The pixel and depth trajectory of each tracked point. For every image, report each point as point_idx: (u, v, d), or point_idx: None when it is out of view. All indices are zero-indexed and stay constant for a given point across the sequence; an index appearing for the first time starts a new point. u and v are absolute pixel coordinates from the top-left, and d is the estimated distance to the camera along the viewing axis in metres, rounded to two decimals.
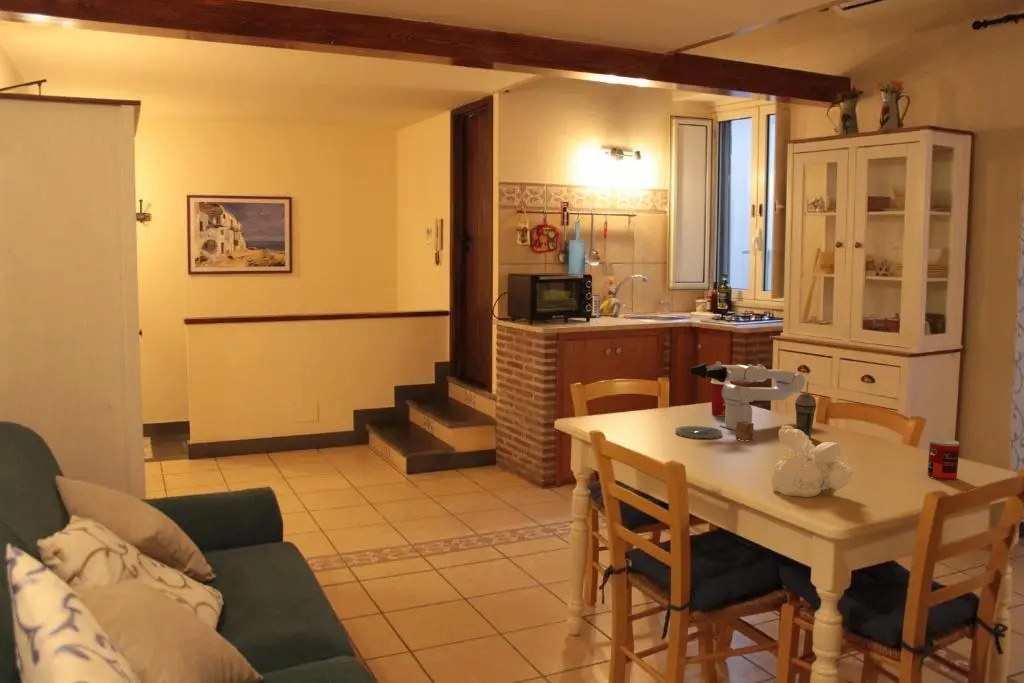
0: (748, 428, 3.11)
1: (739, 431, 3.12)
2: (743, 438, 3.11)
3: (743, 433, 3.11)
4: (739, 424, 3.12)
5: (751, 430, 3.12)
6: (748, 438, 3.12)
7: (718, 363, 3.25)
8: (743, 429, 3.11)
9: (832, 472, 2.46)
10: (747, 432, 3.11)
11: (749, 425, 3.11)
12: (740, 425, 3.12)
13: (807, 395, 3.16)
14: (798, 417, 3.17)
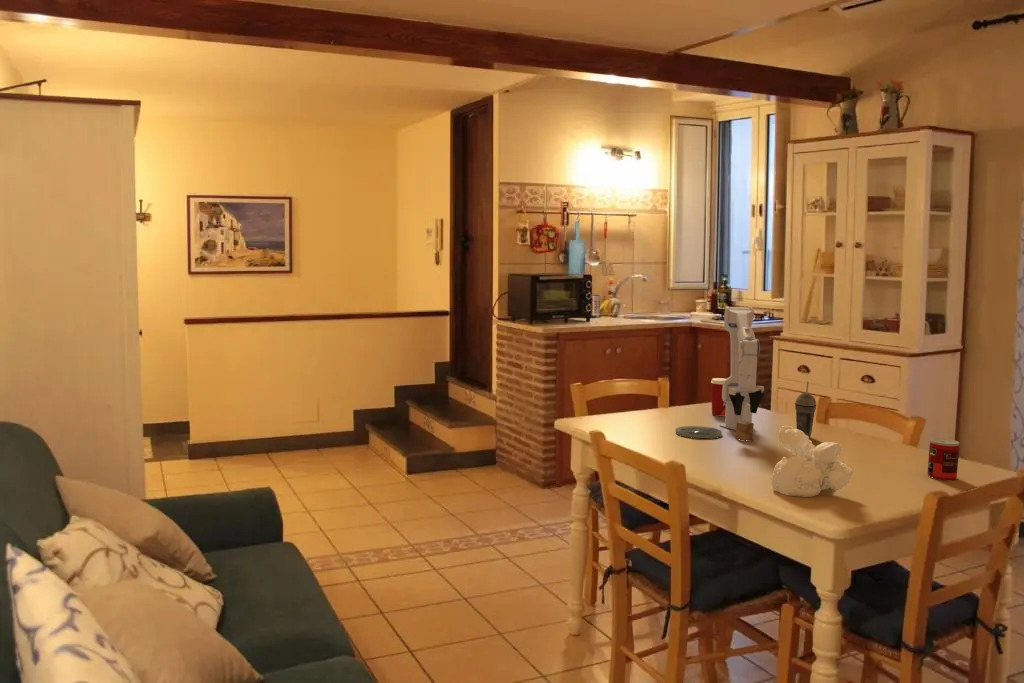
0: (748, 428, 3.11)
1: (739, 431, 3.12)
2: (743, 438, 3.11)
3: (743, 433, 3.11)
4: (739, 424, 3.12)
5: (751, 430, 3.12)
6: (748, 438, 3.12)
7: (755, 390, 3.09)
8: (743, 429, 3.11)
9: (832, 472, 2.46)
10: (747, 432, 3.11)
11: (749, 425, 3.11)
12: (740, 425, 3.12)
13: (807, 395, 3.16)
14: (798, 417, 3.17)
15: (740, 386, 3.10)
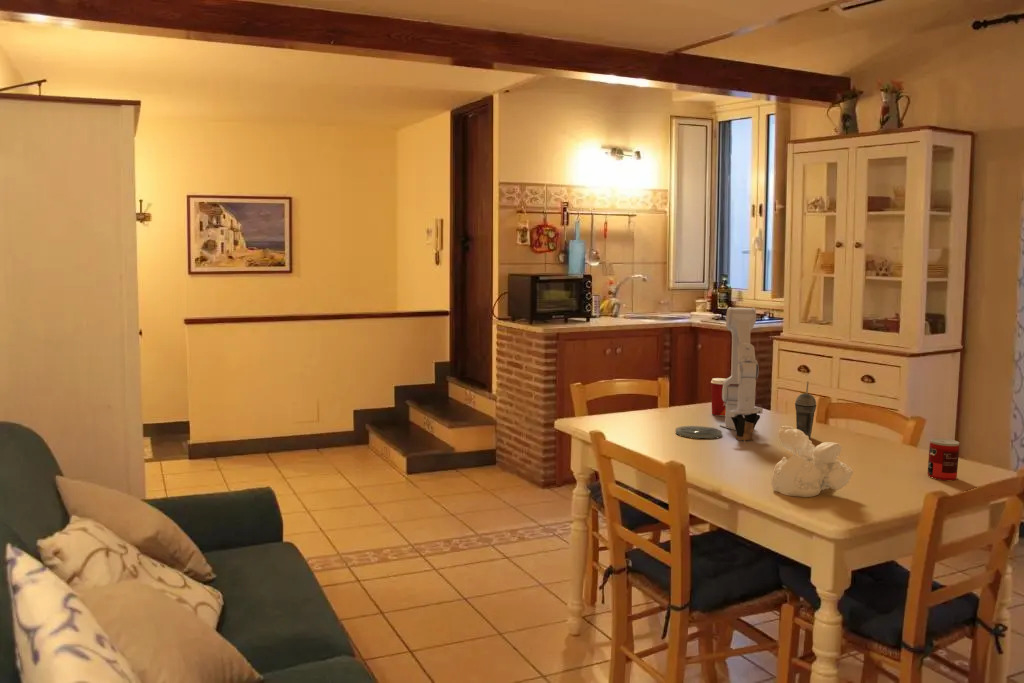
0: (748, 428, 3.11)
1: None
2: (743, 438, 3.11)
3: (743, 433, 3.11)
4: None
5: (751, 430, 3.12)
6: (748, 438, 3.12)
7: (753, 412, 3.10)
8: None
9: (832, 472, 2.46)
10: (747, 432, 3.11)
11: (749, 425, 3.11)
12: None
13: (807, 395, 3.16)
14: (798, 417, 3.17)
15: (739, 408, 3.11)
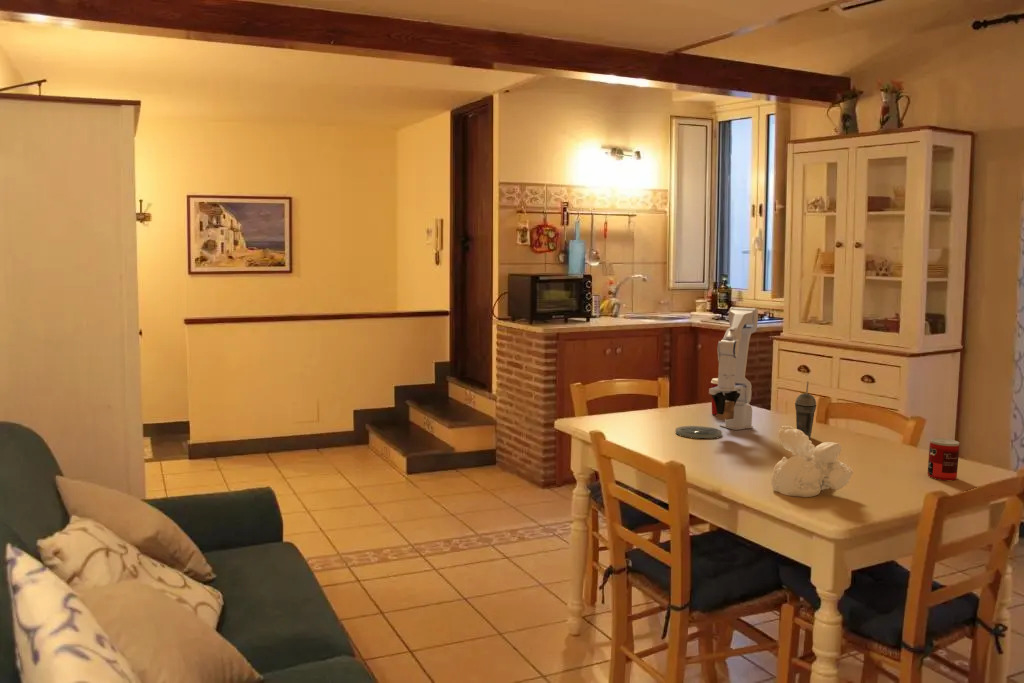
0: (729, 406, 3.13)
1: None
2: (724, 416, 3.13)
3: (724, 411, 3.13)
4: None
5: (732, 408, 3.14)
6: (729, 416, 3.14)
7: (734, 390, 3.12)
8: (724, 407, 3.13)
9: (832, 472, 2.46)
10: (728, 410, 3.13)
11: (730, 403, 3.14)
12: None
13: (807, 395, 3.16)
14: (798, 417, 3.17)
15: (719, 386, 3.13)
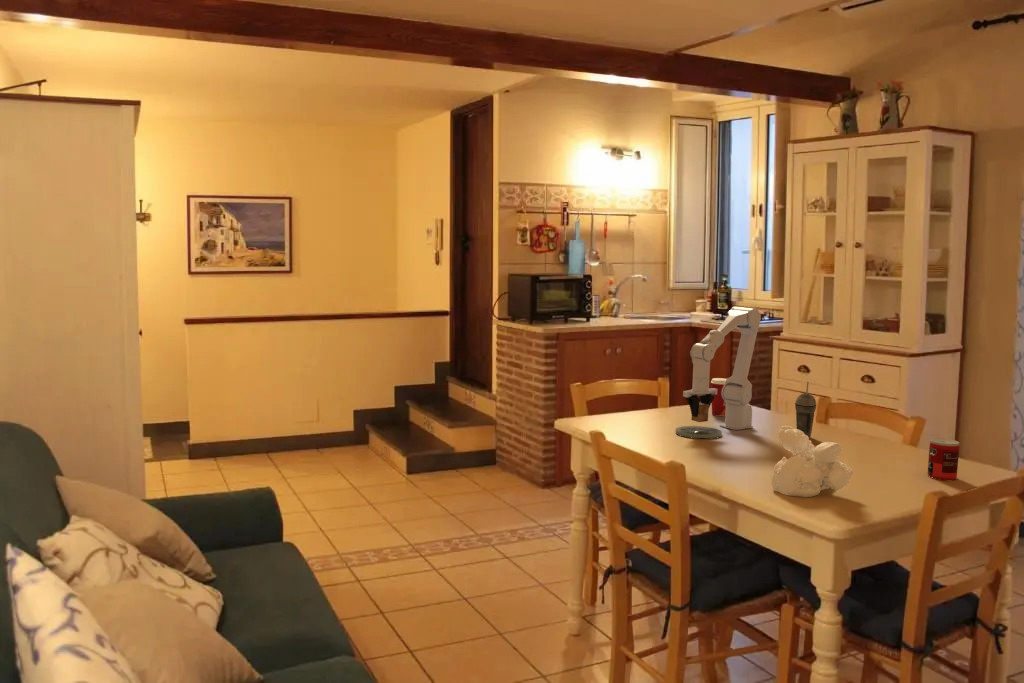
0: (703, 409, 3.18)
1: None
2: (698, 419, 3.18)
3: (698, 414, 3.18)
4: None
5: (706, 411, 3.19)
6: (703, 419, 3.18)
7: None
8: (698, 410, 3.17)
9: (832, 472, 2.46)
10: (702, 413, 3.18)
11: (704, 406, 3.18)
12: None
13: (807, 395, 3.16)
14: (798, 417, 3.17)
15: (693, 389, 3.18)
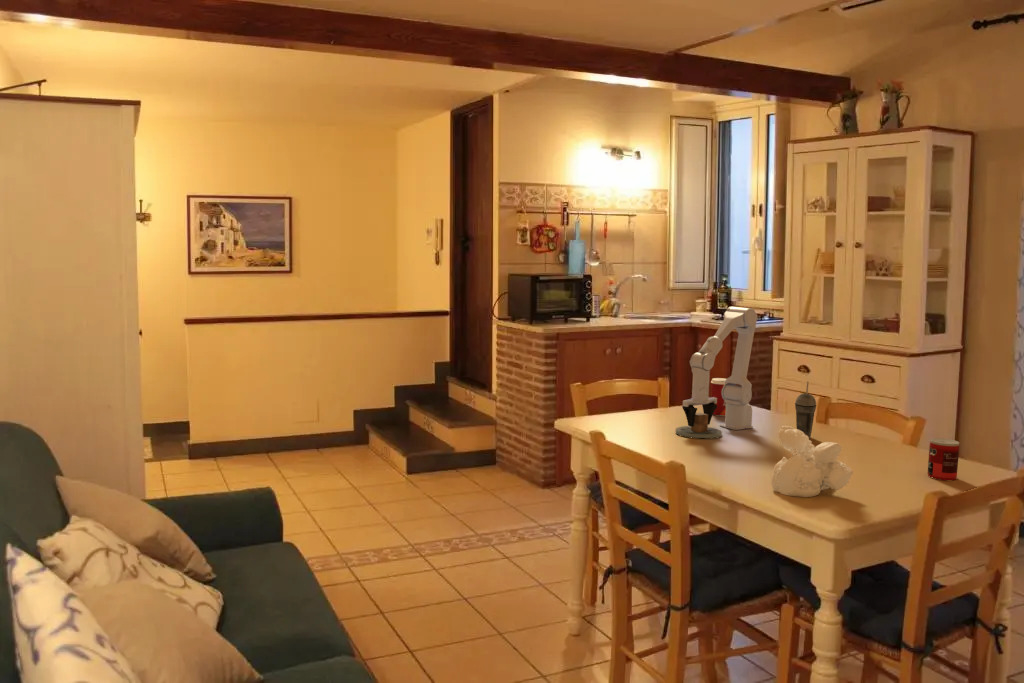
0: (702, 419, 3.18)
1: (694, 423, 3.19)
2: (698, 429, 3.18)
3: (698, 424, 3.18)
4: None
5: (706, 421, 3.19)
6: (703, 429, 3.19)
7: (707, 402, 3.17)
8: (698, 420, 3.18)
9: (832, 472, 2.46)
10: (702, 423, 3.18)
11: (703, 416, 3.18)
12: (695, 417, 3.19)
13: (807, 395, 3.16)
14: (798, 417, 3.17)
15: (693, 398, 3.18)
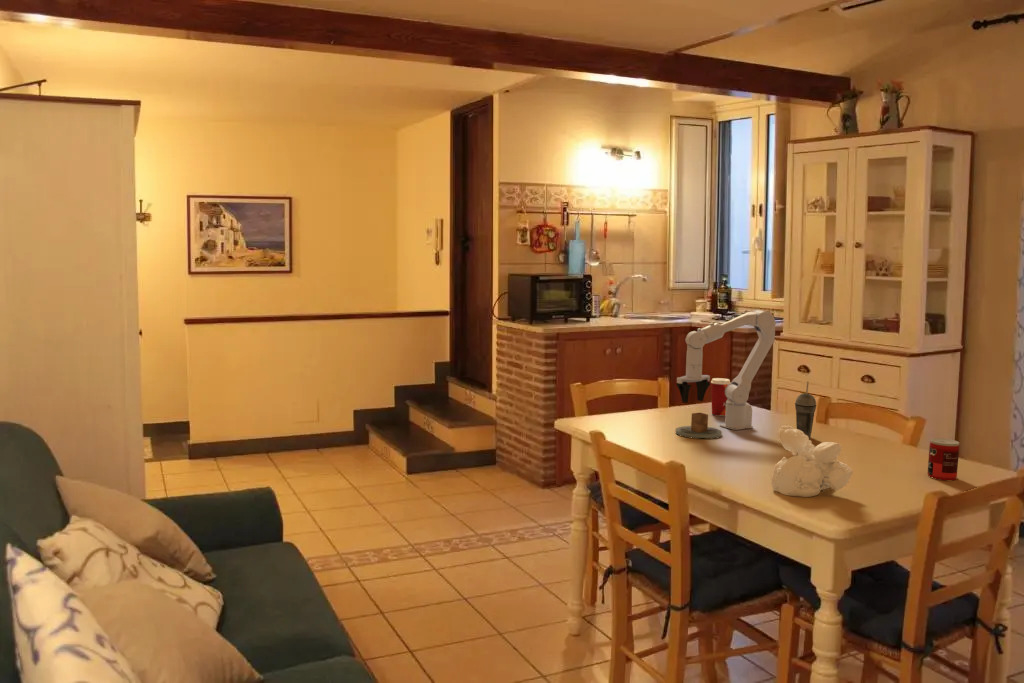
0: (702, 419, 3.18)
1: (694, 423, 3.19)
2: (698, 429, 3.18)
3: (698, 424, 3.18)
4: (694, 415, 3.19)
5: (706, 421, 3.19)
6: (703, 429, 3.19)
7: (700, 379, 3.28)
8: (698, 420, 3.18)
9: (832, 472, 2.46)
10: (702, 423, 3.18)
11: (703, 416, 3.18)
12: (695, 417, 3.19)
13: (807, 395, 3.16)
14: (798, 417, 3.17)
15: (687, 375, 3.29)
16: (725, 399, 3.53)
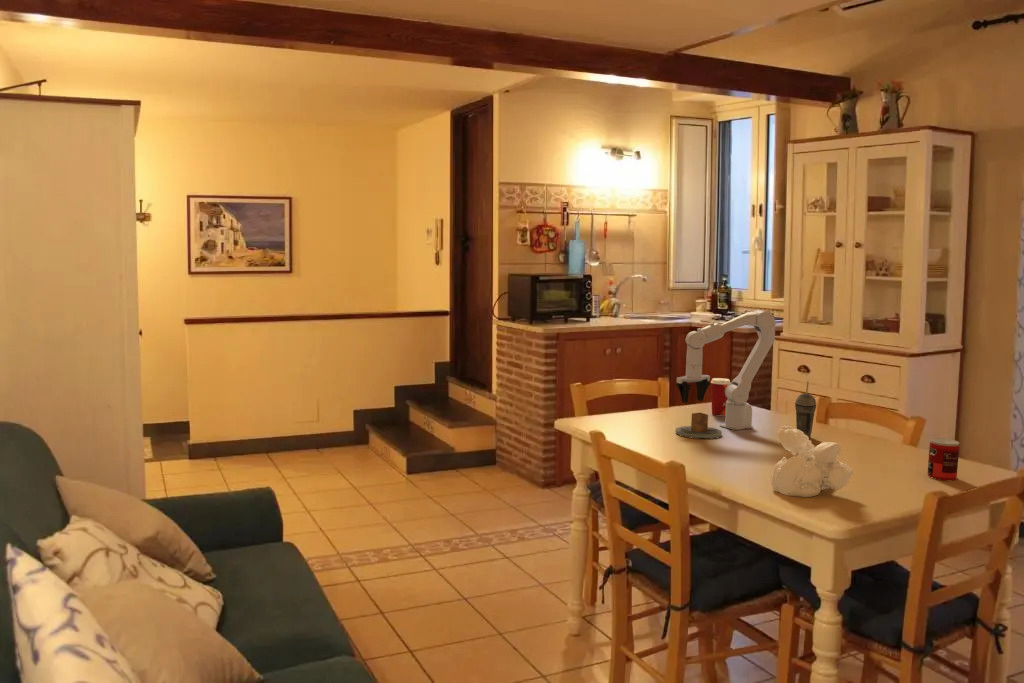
0: (702, 419, 3.18)
1: (694, 423, 3.19)
2: (698, 429, 3.18)
3: (698, 424, 3.18)
4: (694, 415, 3.19)
5: (706, 421, 3.19)
6: (703, 429, 3.19)
7: (700, 379, 3.28)
8: (698, 420, 3.18)
9: (832, 472, 2.46)
10: (702, 423, 3.18)
11: (703, 416, 3.18)
12: (695, 417, 3.19)
13: (807, 395, 3.16)
14: (798, 417, 3.17)
15: (687, 375, 3.29)
16: (725, 399, 3.53)
